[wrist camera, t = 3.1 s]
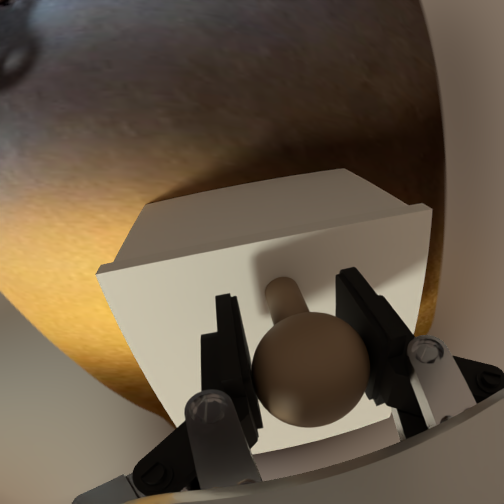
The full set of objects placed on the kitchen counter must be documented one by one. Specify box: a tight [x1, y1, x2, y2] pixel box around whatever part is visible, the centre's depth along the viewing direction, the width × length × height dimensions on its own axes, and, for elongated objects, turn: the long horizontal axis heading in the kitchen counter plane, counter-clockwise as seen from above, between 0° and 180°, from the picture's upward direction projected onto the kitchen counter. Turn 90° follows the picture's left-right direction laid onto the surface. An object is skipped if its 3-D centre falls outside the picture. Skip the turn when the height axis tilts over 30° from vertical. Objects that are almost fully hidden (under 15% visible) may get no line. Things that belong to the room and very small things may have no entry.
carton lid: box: [96, 203, 432, 454], centre depth 13 cm, size 16×14×7 cm
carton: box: [114, 168, 409, 262], centre depth 20 cm, size 16×14×9 cm
